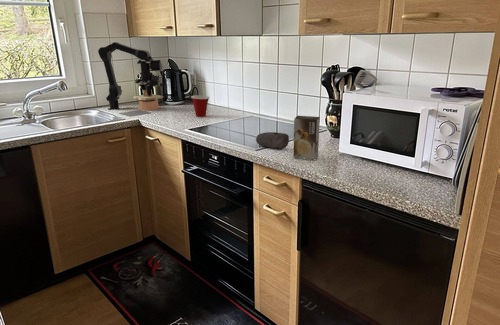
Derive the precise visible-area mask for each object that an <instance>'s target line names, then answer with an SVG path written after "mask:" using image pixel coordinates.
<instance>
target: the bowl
mask: <svg viewBox="0 0 500 325" xmlns="http://www.w3.org/2000/svg"><path fill="white" fill-rule="evenodd" d="M138 104H139V106H138V107H139V110H142V111H156V110H158V109H159V108H160V107H159V99H152V100H140V99H138Z"/></svg>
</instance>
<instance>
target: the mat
mask: <svg viewBox="0 0 500 325" xmlns="http://www.w3.org/2000/svg"><path fill="white" fill-rule="evenodd" d="M118 114H119V115H122V116H126V117H129V118H133V117H136V116H137V117H138V116H142V115H143V116H144V115H151V112H150V111H147V110H140V109H138V110H132V111H130V110H129V111H125V112H124V111H123V112H118Z"/></svg>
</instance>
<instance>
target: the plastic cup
mask: <svg viewBox="0 0 500 325" xmlns="http://www.w3.org/2000/svg"><path fill="white" fill-rule="evenodd" d="M190 97H191V99H192V100H191V101H192V104H193V109H194V112H195V113H194V114H195V116H196V118H203V117H206V115H207V109H208V102H209V100H210V96H207V95H202V94H201V95H198V94H195V95H191V96H190Z"/></svg>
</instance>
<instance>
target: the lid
mask: <svg viewBox="0 0 500 325" xmlns="http://www.w3.org/2000/svg"><path fill="white" fill-rule="evenodd" d="M163 98H164V96H163V95H159V94H153V90H152V91H151V95H150V96H149V95H148V92H147V90H142V94H141V95H140V94H139V95H133V96H132V99H134V100H135V99H136V100H152V99H158V100H159V99H163Z"/></svg>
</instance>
